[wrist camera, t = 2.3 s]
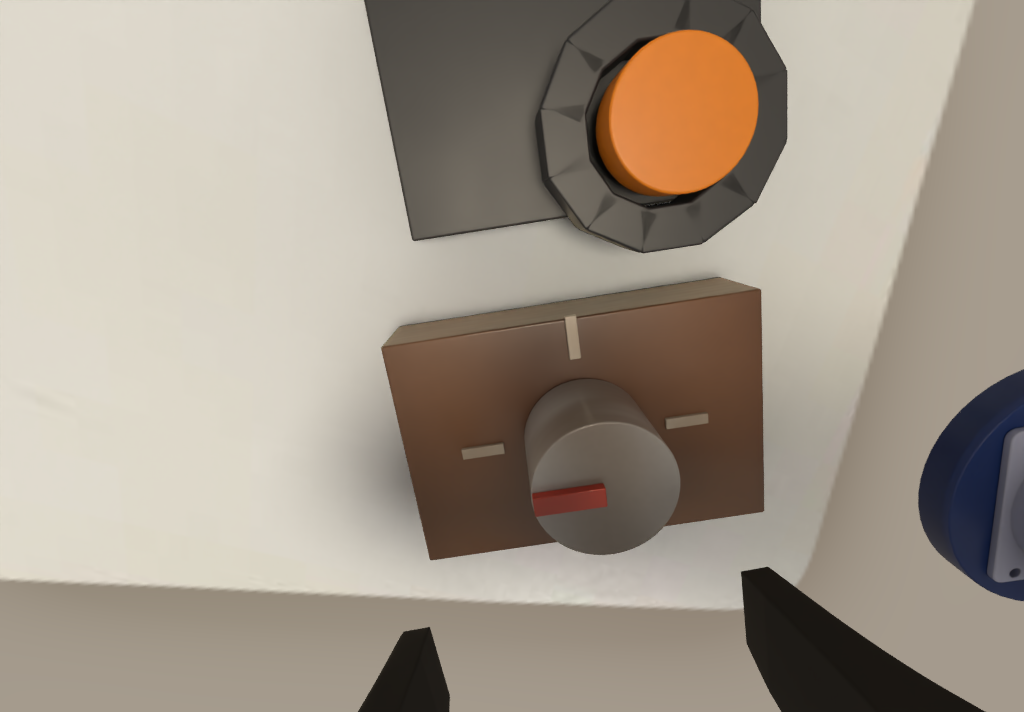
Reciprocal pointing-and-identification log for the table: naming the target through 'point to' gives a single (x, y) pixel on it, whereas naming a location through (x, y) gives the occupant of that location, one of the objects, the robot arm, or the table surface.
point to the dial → (598, 469)
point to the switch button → (677, 114)
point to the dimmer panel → (566, 357)
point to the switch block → (551, 114)
